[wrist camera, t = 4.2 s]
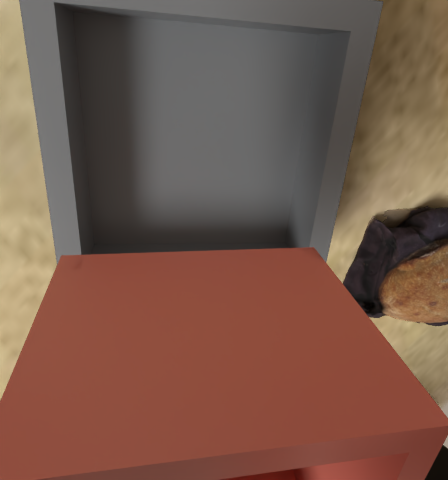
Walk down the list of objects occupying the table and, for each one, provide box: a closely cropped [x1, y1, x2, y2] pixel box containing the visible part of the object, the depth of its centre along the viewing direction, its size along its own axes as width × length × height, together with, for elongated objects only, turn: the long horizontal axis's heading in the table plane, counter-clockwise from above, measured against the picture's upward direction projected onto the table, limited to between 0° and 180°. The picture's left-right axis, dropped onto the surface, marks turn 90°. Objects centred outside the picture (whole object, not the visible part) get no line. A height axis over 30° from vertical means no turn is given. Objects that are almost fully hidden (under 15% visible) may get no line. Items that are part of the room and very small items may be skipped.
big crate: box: [19, 0, 383, 265], centre depth 16 cm, size 12×12×4 cm
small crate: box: [0, 247, 448, 480], centre depth 8 cm, size 6×6×5 cm
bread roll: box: [343, 206, 448, 326], centre depth 23 cm, size 11×8×4 cm
